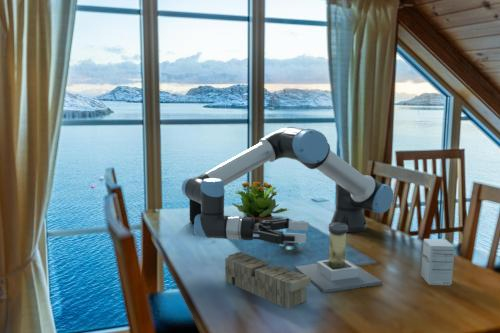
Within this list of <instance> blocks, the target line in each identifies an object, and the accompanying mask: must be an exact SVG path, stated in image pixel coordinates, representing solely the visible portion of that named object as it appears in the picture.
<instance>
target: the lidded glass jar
mask: <svg viewBox="0 0 500 333" xmlns="http://www.w3.org/2000/svg"><path fill="white" fill-rule="evenodd" d="M347 230H348V225H347V224H345V223H339V222H334V223H331V222H330V223H329V224H328V232H329V246H328V248H329V249H328V250H329V253H328V260H329V267H330V268H331V269H333V270H334V269H342V268H345V260H346V247H347V246H346V243H347V233H348V232H347Z"/></svg>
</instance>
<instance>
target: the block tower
mask: <svg viewBox="0 0 500 333" xmlns="http://www.w3.org/2000/svg"><path fill="white" fill-rule="evenodd" d="M224 261H225V262H224V264H225V268H224V269H225V282H227V283H230V284H231V285H232V284H234V285H235V286H236V287H238V288H239V289H242V290H244V291H246V292H249V293H251V294H252V295H255V296H258V297H260V298H262V299H264V300H267V301H269V302H271V303H273V304H276V305H278V306H281V307H283V308H285V309H288V310H289V309H292V308H294V307H297V306H299V305H300V304H303V303H305V302H307V287H309V286H311V277H309V276H306V275H304V274H300V273H299V272H297V271H294V270H291V269H288V268H286V267H282V266H280V265H278V264H277V265H274V266H270V261H265V260H262V259H260V258H258V257H257V258H256V256H253V255H250V254H247V253H244V252H243V251H237V252H235V253H231V254H229V255H228V257H225V260H224Z"/></svg>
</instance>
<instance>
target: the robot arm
mask: <svg viewBox="0 0 500 333" xmlns="http://www.w3.org/2000/svg"><path fill="white" fill-rule="evenodd" d="M284 158H285V159H291V160H295V161H297V162H298V163H301V164H302V165H303V166H304V167H306V168H308V169H309V170H317V171H319V172H320V173H322V174H323V175H324V176H326V177H328V178H329V179H330V180H331V181H333V182H334V183H335V210H334V213H333V215H332V219H331V221H330V223H334V222H339V223H345V224H347V225H348V230H347V233H361V232H365V231H367V229H368V228H367V219H366V216H365V213H364V210H367V211H370V212H373V213H375V214H377V213H378V214H384V213H385V212H387V211H388V210H389V209H390V207H391V206H392V204H393V201H394V191H393V188H392V187H391V185H389V184H386V183H381V182H379V181H378V180H377V179H375V178H374V177H373V176H371V175H367V174H366V175H364V174H362V173H361V172H360V171H358V170H357V169H356V168H355V167H353V166H352V165H350V164H349V163H348V162H347V161H345V160H344V159H342V158H341V157H340V156H339V155H337V154H336V153H335V152H333V151H332V150H331V145H330V143H329V142H328V138H327V137H326V136H325V134H324V133H322V132H321V131H319V130H316V129H314V128H313V129H312V128H302V127H300V128H299V127H295V126H287V127H283V128H279V129H278V130H275V131H274V132H272V133H270V134H267V135H266V136H264V137H262V138H260V139H259V140H258V143H256V144H255V145H253V146H252V147H249V148H248V149H245V150H244V151H242V152H241V153H239V154H237V155H235V156H233V157H232V158H230V159H227V160H226V161H224V162H222V163H220V164H218V165H217V166H215V167H214V168H211V169H210V170H208V171H206V172H204V173H202V174H200V175H199V176H197V177H196V176H190V177H187V178H185V179H184V181H183V182H182V184H181V191H182V194H183V195H184V196H185V197H186V198H187V199H191V200H194V201H196V202H198V203H200V204H201V214H198V215H196V217H195V220H194V224H193V232H194V234H195V236H196V237H199V238H206V239H222V240H224V239H225V240H231V241H233V242H234V241H235V240H238V241H239V240H242V241H253V240H260V241H264V242H267V243H268V242H269V243H271V244H275V245H281V246H284V245H285V243H297V244H307V234H306V233H298V232H297V233H296V232H284V233H282V232H279V231H278V230H285V229H288V230H291V231H292V230H293V231H294V230H295V231H309V223H310V222H308V221H296V220H295V221H294V220H290V219H289V218H288V217H286V218H280V219H278V218H277V219H268V220H258V222H255V221H256V220H255V219H254V218H253V217H251V216H243V217H242V216H239V215H237V216H235V215H225V193H226V190H225V186H227V185H229V184H231V183H233V182H234V181H236V180H237V179H240V178H241V177H243V176H244V175H246V174H248V173H249V172H251V171H254V170H255V169H257V168H259V167H261V166H262V165H264V164H266V163H268V162H270V163H273V162H274V161H276V160H279V159H284Z"/></svg>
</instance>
